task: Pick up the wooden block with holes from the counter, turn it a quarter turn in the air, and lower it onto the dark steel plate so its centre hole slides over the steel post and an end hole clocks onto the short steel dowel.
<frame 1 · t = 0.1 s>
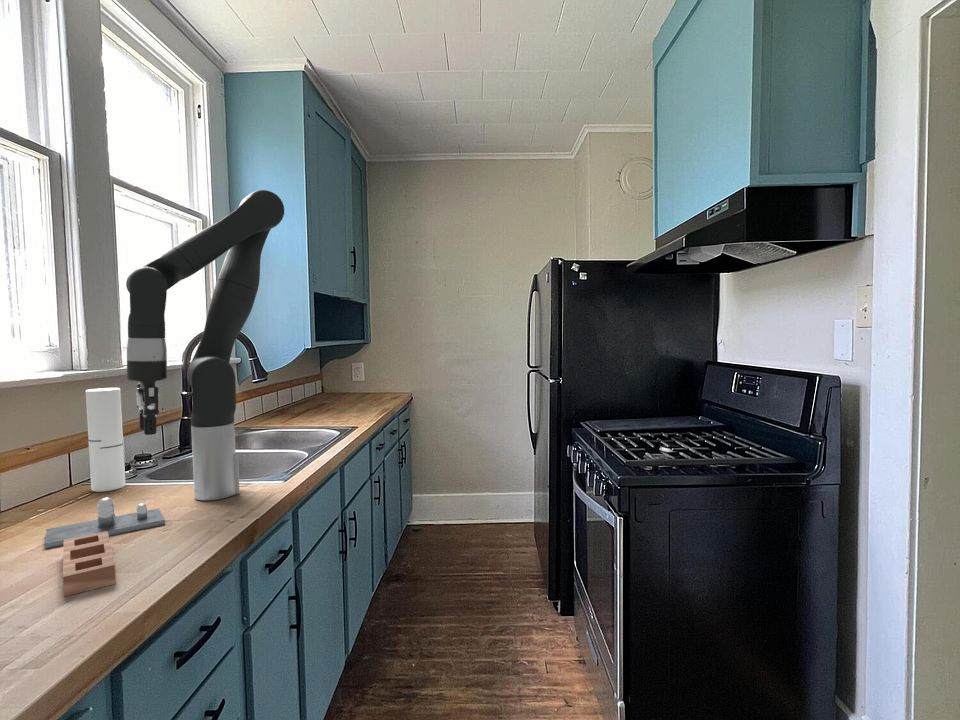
hand: (147, 431, 119), 17 cm above the countertop, tool pointing down, fingers open, 8 cm apart
post plate: (107, 529, 107), on the countertop
cylindrical container: (108, 488, 136), on the countertop
wooden block with holes: (88, 569, 89), on the countertop
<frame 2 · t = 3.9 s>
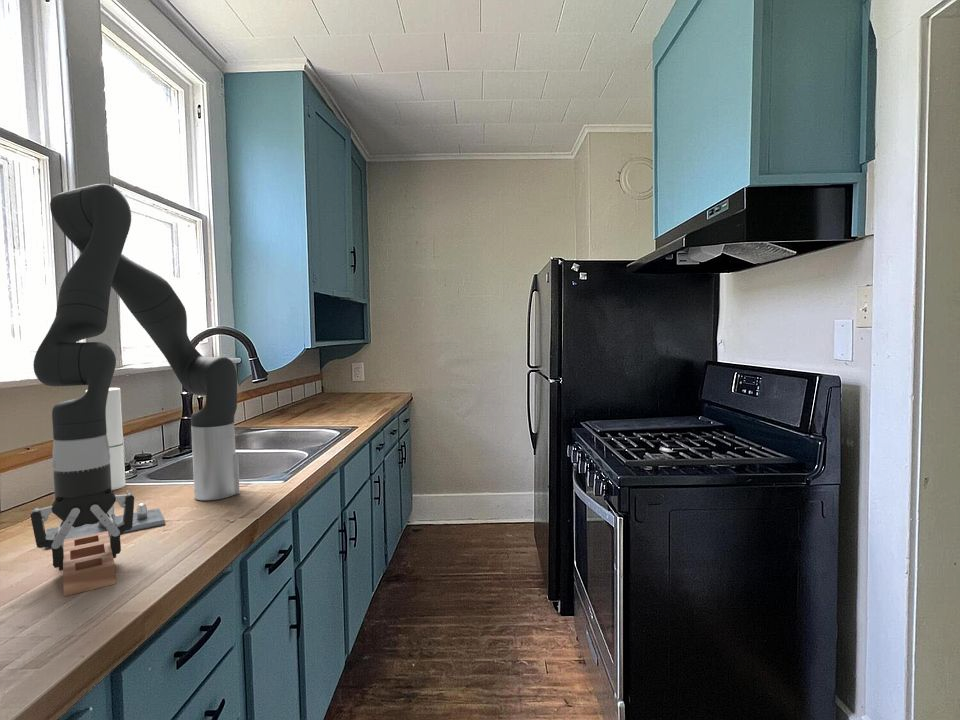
hand: (88, 562, 89), 1 cm above the countertop, tool pointing down, fingers closed on wooden block with holes, 6 cm apart
wooden block with holes: (88, 569, 89), on the countertop, touching gripper
everything else where it was.
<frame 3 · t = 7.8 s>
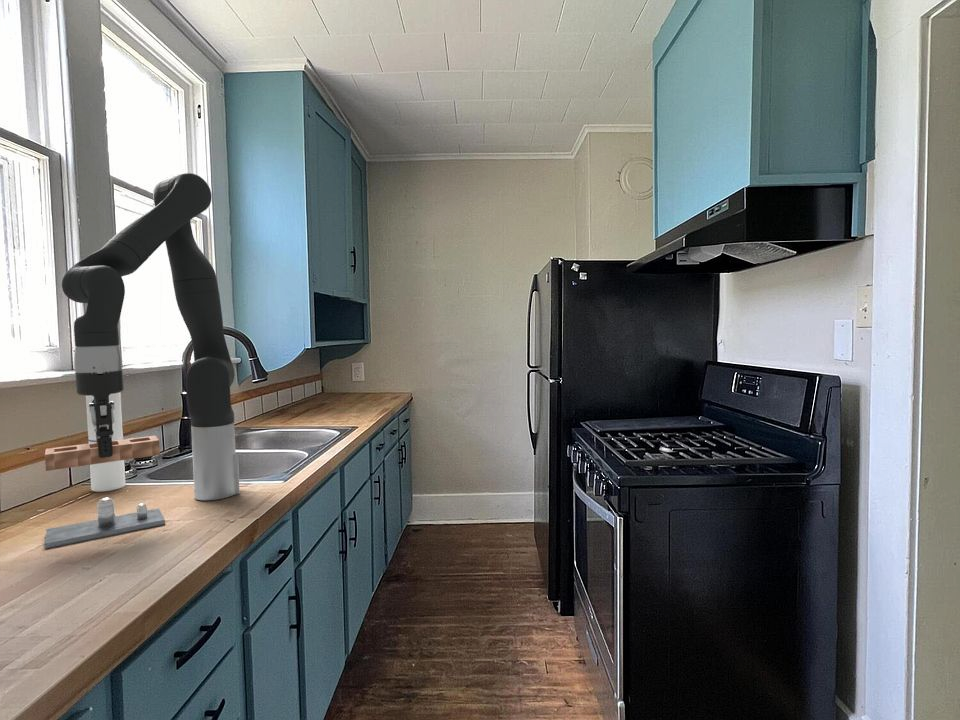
hand: (104, 453, 105), 15 cm above the countertop, tool pointing down, fingers closed on wooden block with holes, 6 cm apart
wooden block with holes: (105, 459, 105), point 14 cm above the countertop, touching gripper
everything else where it was.
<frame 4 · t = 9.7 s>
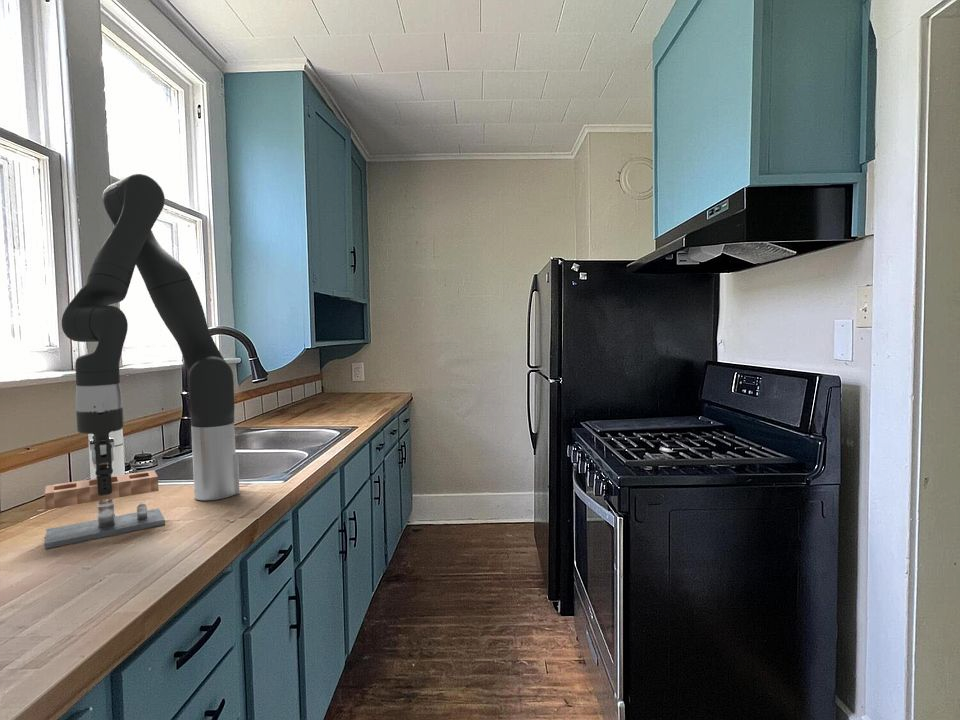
hand: (104, 490, 106), 8 cm above the countertop, tool pointing down, fingers closed on wooden block with holes, 6 cm apart
wooden block with holes: (104, 495, 107), point 7 cm above the countertop, touching gripper
everything else where it was.
when the fingers open (3 cm above the countertop, at t = 11.6 s): wooden block with holes stays where it is, resting on post plate.
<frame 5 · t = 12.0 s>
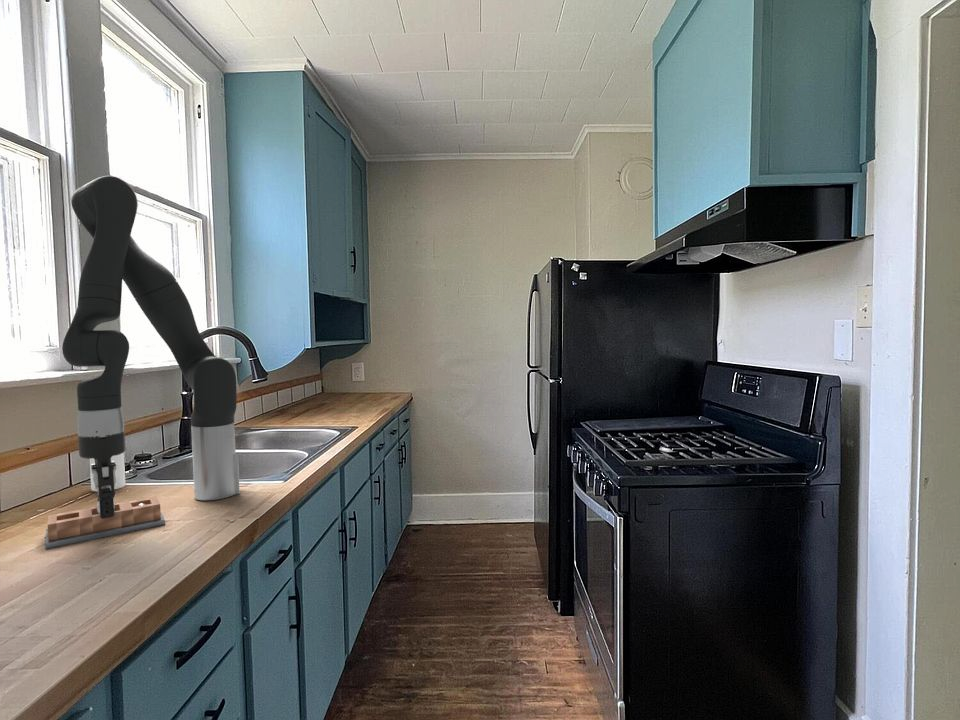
hand: (106, 511, 107), 4 cm above the countertop, tool pointing down, fingers open, 8 cm apart
wooden block with holes: (106, 524, 107), point 1 cm above the countertop, touching post plate
everything else where it was.
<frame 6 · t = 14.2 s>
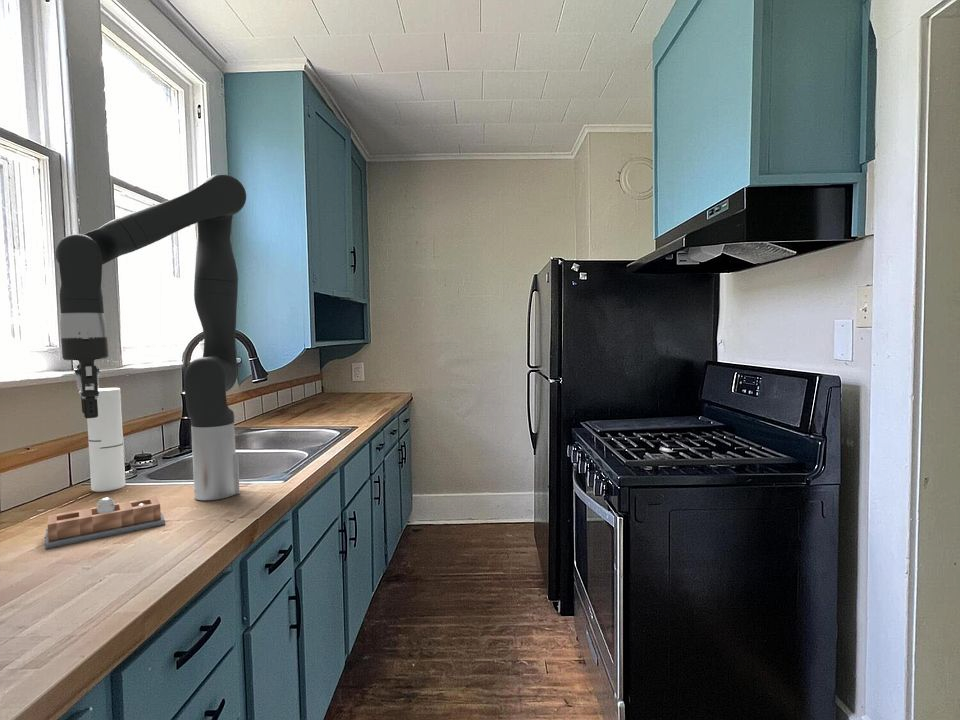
hand: (90, 415, 109), 22 cm above the countertop, tool pointing down, fingers open, 8 cm apart
nothing on the countertop moved.
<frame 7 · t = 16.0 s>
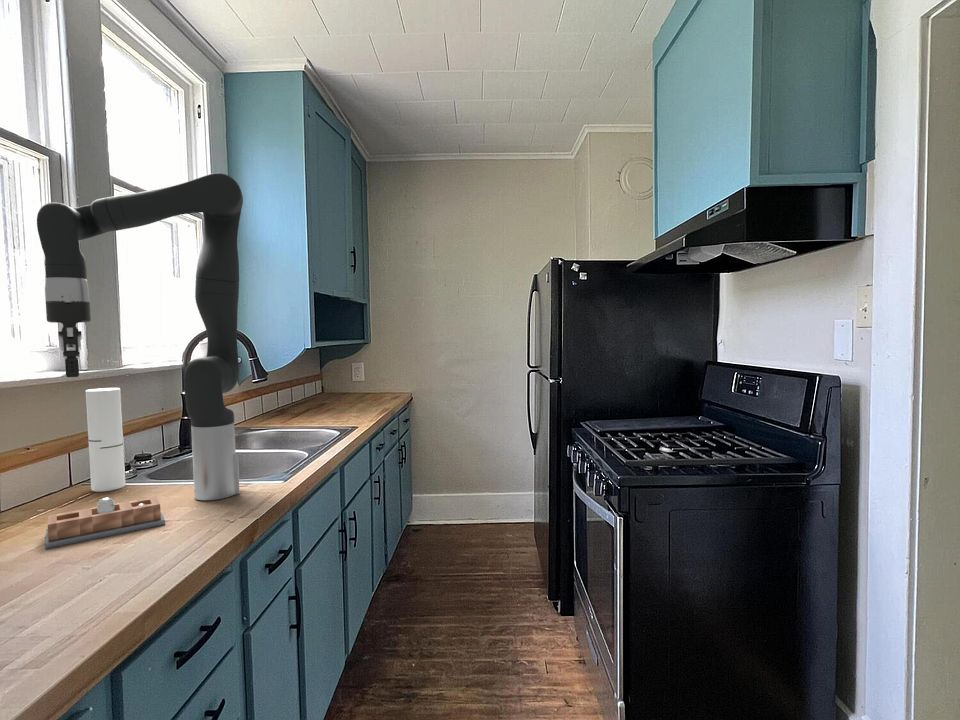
hand: (72, 375, 115), 30 cm above the countertop, tool pointing down, fingers open, 8 cm apart
nothing on the countertop moved.
at the end: wooden block with holes 0.0 cm off-centre on the post plate, point 1.0 cm above the post plate's base; wooden block with holes tilted 0°; the gripper is holding nothing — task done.
